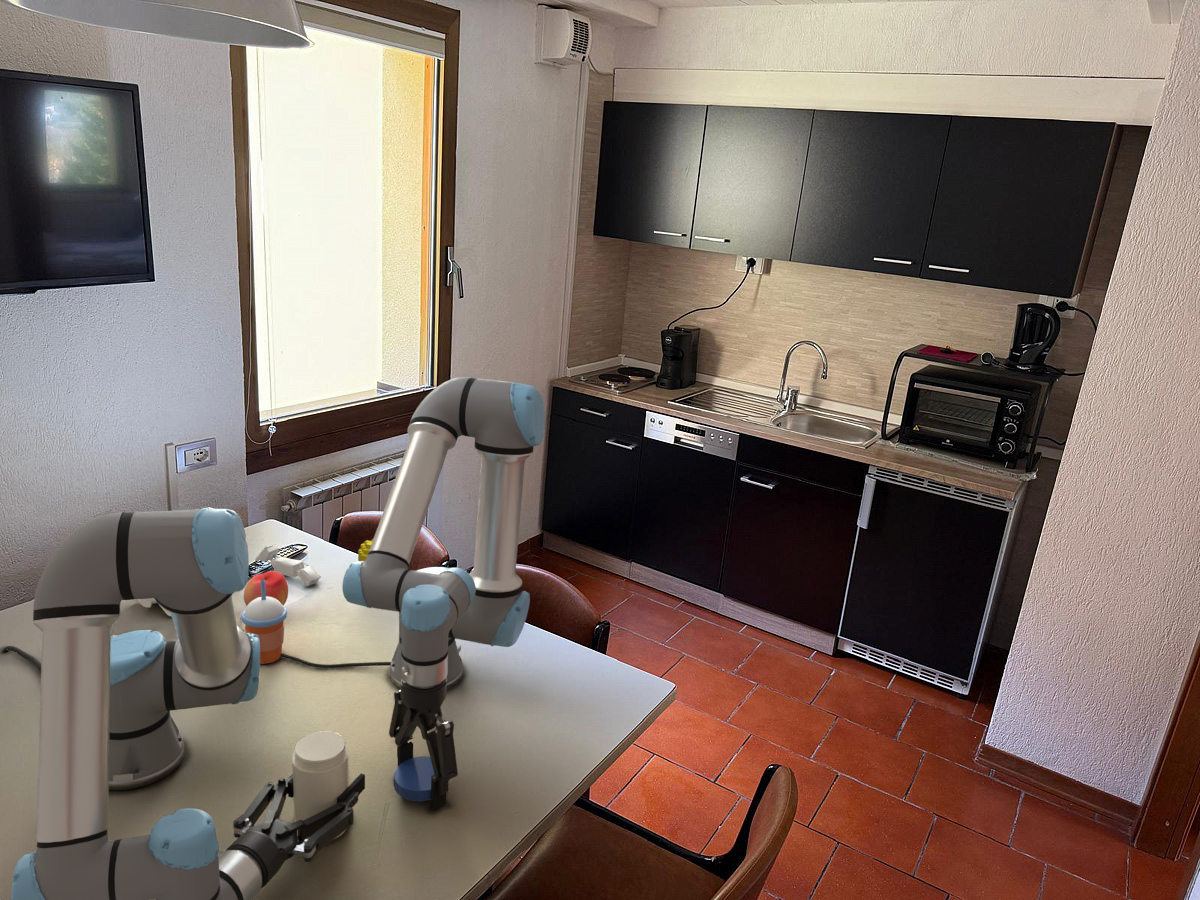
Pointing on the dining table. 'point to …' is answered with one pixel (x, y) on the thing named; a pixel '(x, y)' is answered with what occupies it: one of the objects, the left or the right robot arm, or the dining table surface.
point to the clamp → (288, 565)
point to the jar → (319, 773)
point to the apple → (267, 587)
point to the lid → (414, 778)
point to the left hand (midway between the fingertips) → (338, 773)
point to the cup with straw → (266, 624)
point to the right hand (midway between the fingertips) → (421, 791)
